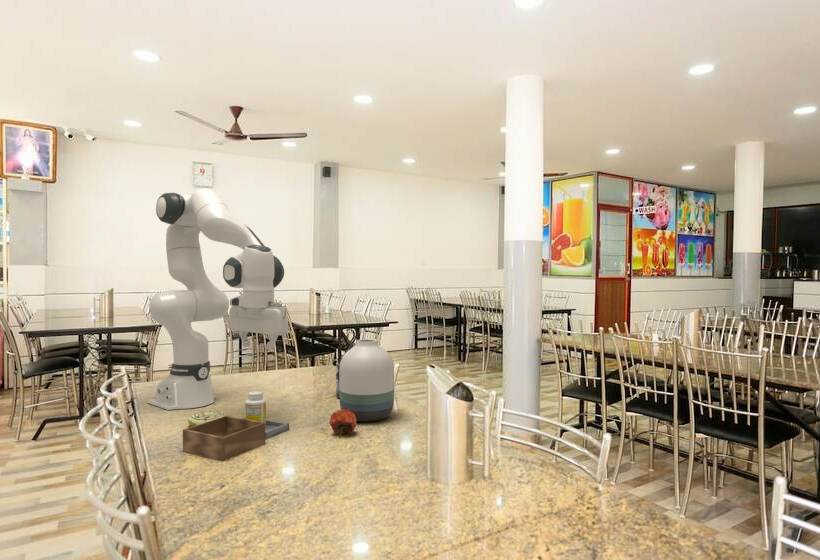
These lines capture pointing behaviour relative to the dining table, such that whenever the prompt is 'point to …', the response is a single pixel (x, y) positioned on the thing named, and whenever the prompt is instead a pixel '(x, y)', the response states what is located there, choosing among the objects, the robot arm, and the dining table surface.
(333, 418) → the pomegranate
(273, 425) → the tray
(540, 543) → the dining table surface
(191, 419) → the decorated donut
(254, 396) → the supplement bottle
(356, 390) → the vase
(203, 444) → the box
